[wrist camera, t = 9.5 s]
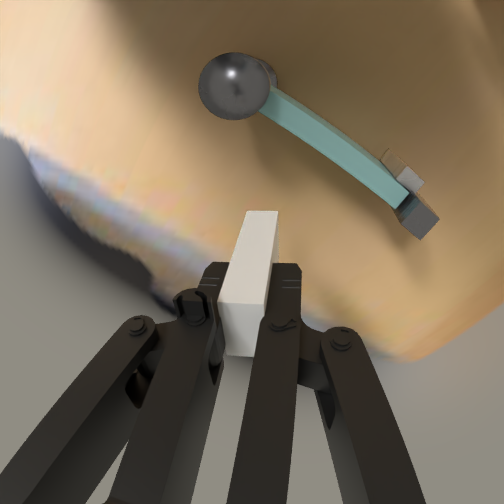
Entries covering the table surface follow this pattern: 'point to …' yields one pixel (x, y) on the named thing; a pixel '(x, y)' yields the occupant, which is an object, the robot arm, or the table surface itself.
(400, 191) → the teal rectangular bar
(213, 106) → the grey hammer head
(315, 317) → the table surface
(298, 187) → the table surface
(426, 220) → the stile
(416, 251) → the table surface
